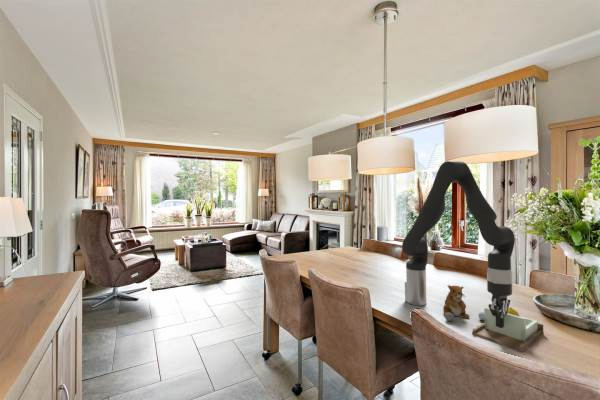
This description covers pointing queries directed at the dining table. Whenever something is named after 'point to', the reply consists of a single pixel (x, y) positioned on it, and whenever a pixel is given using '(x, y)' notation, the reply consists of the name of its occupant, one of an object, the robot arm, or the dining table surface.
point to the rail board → (508, 337)
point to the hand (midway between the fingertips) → (499, 326)
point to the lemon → (512, 312)
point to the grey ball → (449, 316)
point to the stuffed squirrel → (455, 302)
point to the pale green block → (512, 325)
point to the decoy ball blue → (482, 316)
